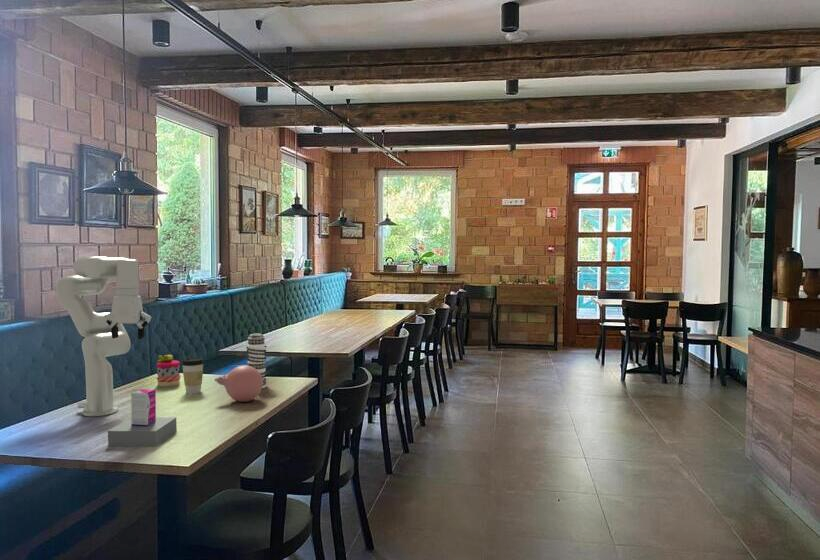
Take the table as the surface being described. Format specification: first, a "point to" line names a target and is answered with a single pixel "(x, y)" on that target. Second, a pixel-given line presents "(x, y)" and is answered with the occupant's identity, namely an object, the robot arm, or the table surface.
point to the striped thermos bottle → (257, 354)
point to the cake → (168, 371)
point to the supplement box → (143, 407)
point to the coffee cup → (193, 374)
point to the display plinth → (142, 433)
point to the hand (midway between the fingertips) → (128, 338)
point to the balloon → (242, 383)
